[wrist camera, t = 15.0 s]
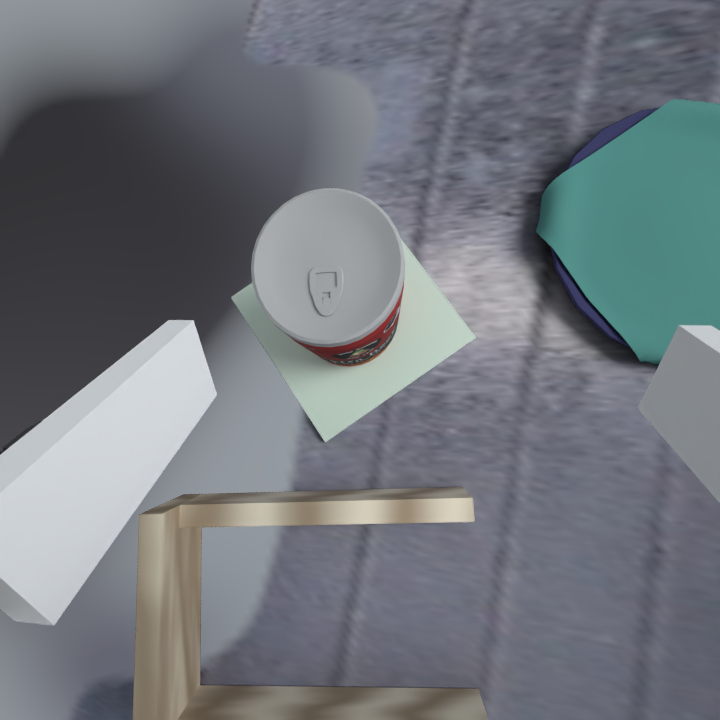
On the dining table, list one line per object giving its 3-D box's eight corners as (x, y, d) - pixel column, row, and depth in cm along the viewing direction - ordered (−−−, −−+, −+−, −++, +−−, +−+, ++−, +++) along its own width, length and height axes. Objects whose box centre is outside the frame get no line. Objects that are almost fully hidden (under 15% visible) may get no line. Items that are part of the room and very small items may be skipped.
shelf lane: (462, 486, 26) (480, 506, 21) (480, 712, 24) (504, 791, 19) (183, 494, 28) (139, 514, 23) (179, 707, 26) (130, 780, 21)
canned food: (318, 380, 27) (273, 366, 17) (290, 286, 29) (230, 215, 18) (412, 350, 27) (429, 315, 16) (380, 256, 28) (376, 164, 17)
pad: (474, 338, 27) (476, 337, 27) (326, 441, 27) (325, 442, 27) (371, 202, 29) (371, 200, 29) (232, 298, 29) (230, 297, 29)
